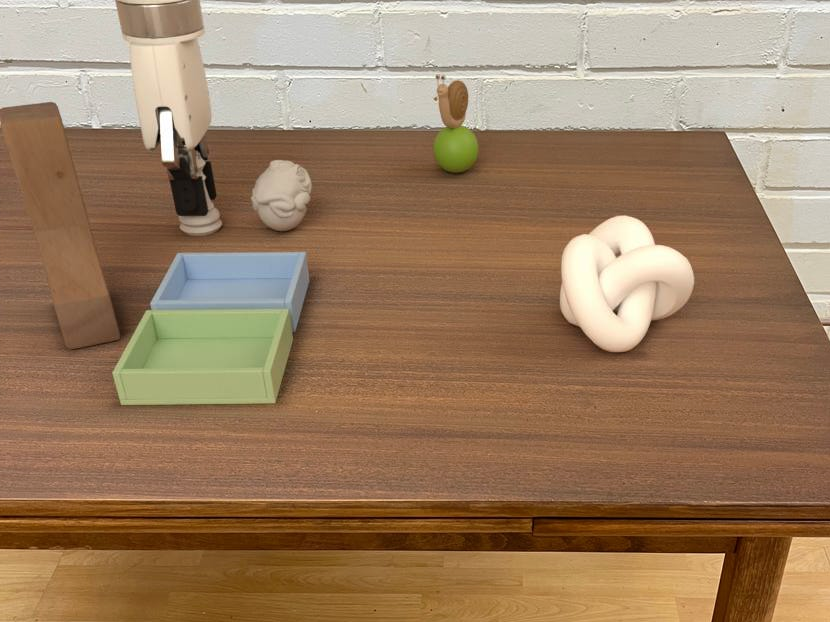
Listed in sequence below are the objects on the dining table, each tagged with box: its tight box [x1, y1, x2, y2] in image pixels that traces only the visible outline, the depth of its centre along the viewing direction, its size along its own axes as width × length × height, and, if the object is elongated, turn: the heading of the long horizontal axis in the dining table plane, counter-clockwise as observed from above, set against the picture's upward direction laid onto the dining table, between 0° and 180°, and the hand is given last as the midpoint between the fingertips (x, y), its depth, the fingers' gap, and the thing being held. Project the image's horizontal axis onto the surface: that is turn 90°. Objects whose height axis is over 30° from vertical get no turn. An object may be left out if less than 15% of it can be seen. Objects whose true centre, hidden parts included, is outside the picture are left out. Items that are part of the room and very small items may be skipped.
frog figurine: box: [250, 159, 313, 232], centre depth 100 cm, size 6×7×7 cm
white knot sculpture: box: [559, 214, 695, 353], centre depth 82 cm, size 11×12×9 cm
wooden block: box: [0, 101, 121, 350], centre depth 80 cm, size 9×4×18 cm, turn 24°
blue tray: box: [149, 251, 310, 333], centre depth 87 cm, size 12×10×3 cm
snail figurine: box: [432, 73, 480, 174], centre depth 111 cm, size 5×6×12 cm
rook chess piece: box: [178, 151, 223, 237], centre depth 100 cm, size 4×4×8 cm
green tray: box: [111, 309, 294, 406], centre depth 78 cm, size 12×10×3 cm
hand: (197, 205), depth 100 cm, fingers closed on rook chess piece, 3 cm apart
